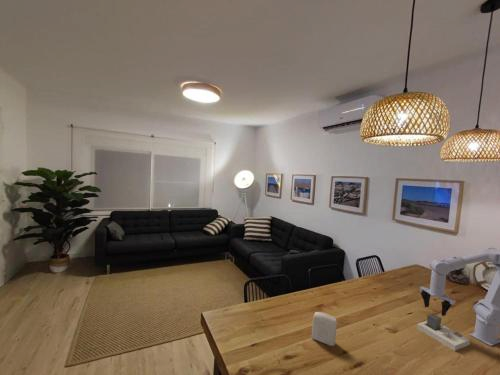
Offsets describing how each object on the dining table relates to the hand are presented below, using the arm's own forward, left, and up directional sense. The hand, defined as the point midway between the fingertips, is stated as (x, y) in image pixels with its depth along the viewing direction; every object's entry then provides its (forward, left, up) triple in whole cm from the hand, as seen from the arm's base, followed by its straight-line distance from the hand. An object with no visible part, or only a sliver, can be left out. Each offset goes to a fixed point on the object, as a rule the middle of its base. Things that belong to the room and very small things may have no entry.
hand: (434, 310), depth 118 cm
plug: (+1, +1, -9) cm, 9 cm away
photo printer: (+60, -11, -10) cm, 62 cm away
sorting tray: (+1, +5, -10) cm, 11 cm away
